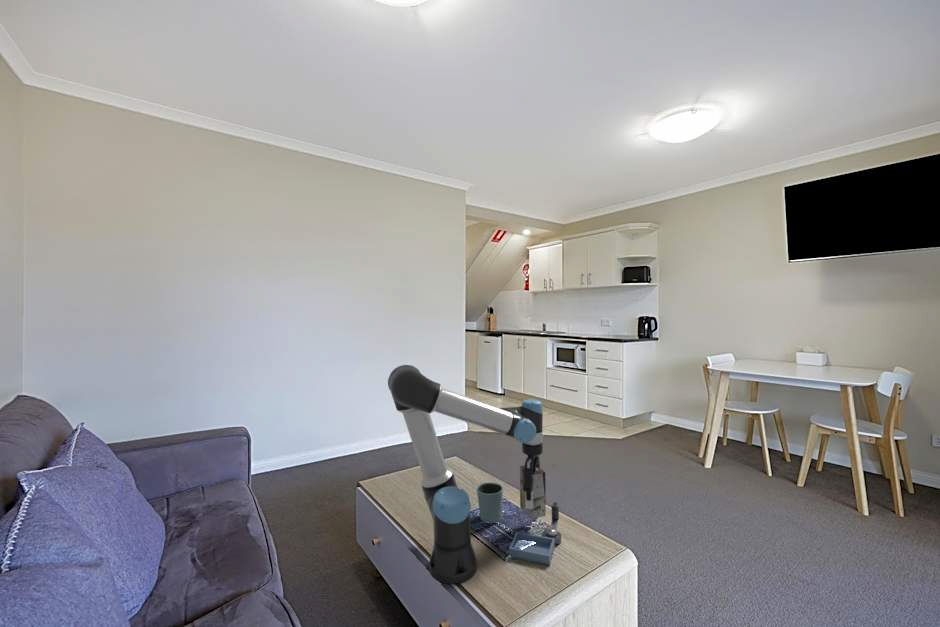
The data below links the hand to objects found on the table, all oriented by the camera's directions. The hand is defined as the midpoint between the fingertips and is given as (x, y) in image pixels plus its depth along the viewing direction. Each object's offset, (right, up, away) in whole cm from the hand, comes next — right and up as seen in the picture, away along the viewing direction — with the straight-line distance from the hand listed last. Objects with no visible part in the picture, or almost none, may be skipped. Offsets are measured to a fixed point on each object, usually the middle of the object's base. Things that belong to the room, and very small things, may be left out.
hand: (532, 501), depth 148 cm
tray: (-2, -10, -15) cm, 18 cm away
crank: (+7, -8, -4) cm, 11 cm away
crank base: (+2, -10, -7) cm, 12 cm away
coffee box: (0, -4, 0) cm, 4 cm away
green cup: (-15, -10, +7) cm, 20 cm away
